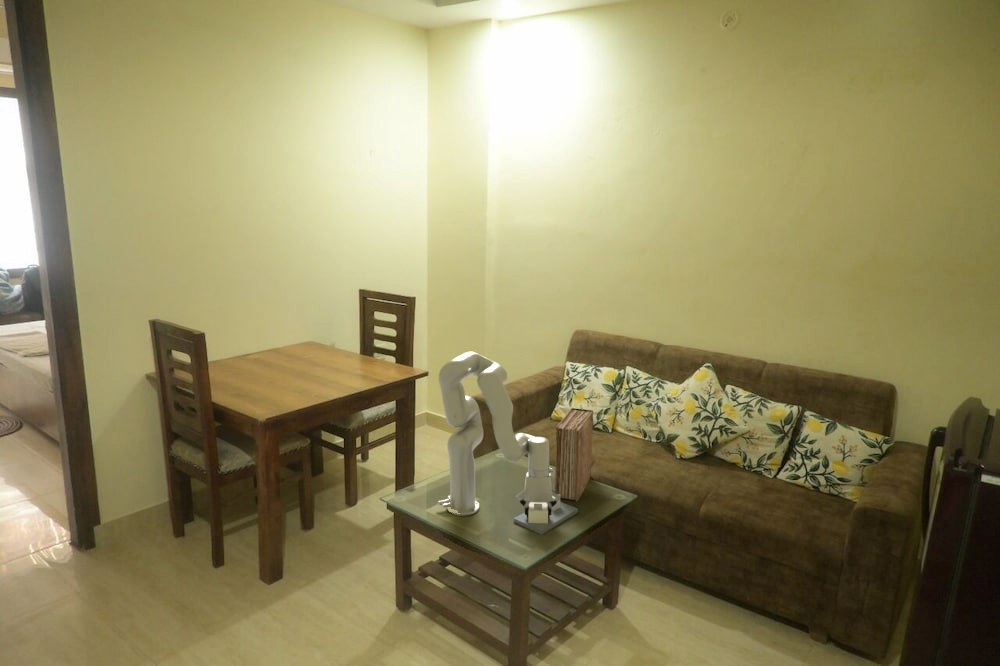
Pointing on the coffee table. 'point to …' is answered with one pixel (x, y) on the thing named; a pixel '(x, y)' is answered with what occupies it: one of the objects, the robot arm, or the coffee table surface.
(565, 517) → the grey flat piece
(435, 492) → the coffee table surface
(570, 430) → the book
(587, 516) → the coffee table surface
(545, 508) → the collar
